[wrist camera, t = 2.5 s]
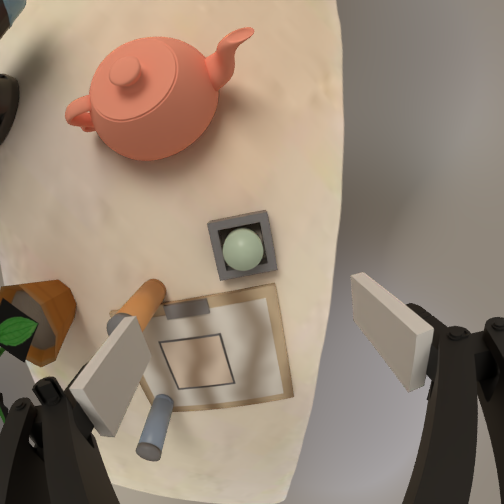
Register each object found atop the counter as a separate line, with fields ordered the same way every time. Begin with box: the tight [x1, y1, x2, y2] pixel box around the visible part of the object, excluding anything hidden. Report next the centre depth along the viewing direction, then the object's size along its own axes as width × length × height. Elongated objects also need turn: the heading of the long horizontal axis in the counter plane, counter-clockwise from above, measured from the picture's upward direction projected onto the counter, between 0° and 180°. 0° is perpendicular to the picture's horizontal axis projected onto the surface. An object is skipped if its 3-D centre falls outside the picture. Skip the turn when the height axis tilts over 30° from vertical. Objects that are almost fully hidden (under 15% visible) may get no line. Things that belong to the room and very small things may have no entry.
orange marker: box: [107, 279, 166, 336], centre depth 30 cm, size 4×4×12 cm
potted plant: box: [0, 280, 76, 423], centre depth 22 cm, size 18×19×30 cm
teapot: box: [65, 27, 254, 161], centre depth 25 cm, size 22×16×12 cm
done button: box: [223, 227, 263, 271], centre depth 32 cm, size 4×4×3 cm
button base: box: [207, 210, 278, 281], centre depth 34 cm, size 7×7×2 cm
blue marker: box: [136, 394, 174, 461], centre depth 34 cm, size 4×4×12 cm
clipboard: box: [109, 283, 294, 412], centre depth 38 cm, size 24×20×1 cm
